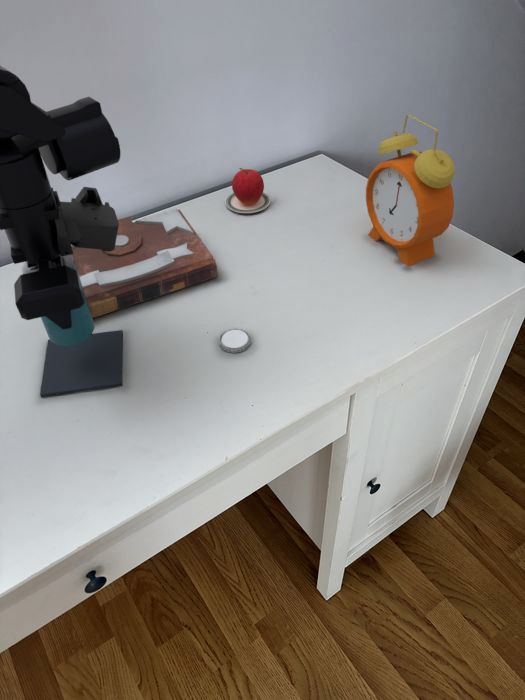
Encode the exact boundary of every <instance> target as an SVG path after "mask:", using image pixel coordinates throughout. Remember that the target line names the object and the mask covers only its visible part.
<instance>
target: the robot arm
mask: <svg viewBox="0 0 525 700" xmlns="http://www.w3.org/2000/svg"><path fill="white" fill-rule="evenodd" d="M120 160H121V144H120V141H119V138H118V137H117V136H116V134H115V132H114V130H113V128H112V125H111V124H110V122H109V120H108V118H107V117H106V115H105V114H104V113H103V110H102V106H101V103H100V101H97V100H96V99H94V98H92V97H91V96H86V97H83V98H80V99H78V100H76V101H75V102H73V103H70V104H67V105H64V106H61V107H58V108H53V109H51V110H48V111H47V110H45V109H43V108H41V107H40V106H38V105H36V104H35V103H33V102H32V100H31V93H30V92H29V90H28V88H27V86H26V84H25V83H24V82H23V80H21V79H20V78H19V77H18V76H17V74H15V73H13V72H12V71H11V70H8V69H7V68H6V67H3V66H2V65H0V231H2V230H4V232H5V235H6V238H7V240H8V242H9V245H10V257H11V260H12V262H13V264H14V265H17V264H21V263H25V262H26V261H27V267H28V270H35V269H37V268H38V266H39V271H36V272H31V273H27V274H23V273H22V274H20V275H19V276H18V278H16V280H15V282H14V283H13V284H14V285H13V286H14V300H15V301H14V302H15V306H16V308H17V311H18V313H19V315H20V318H21V319H23V320H25V321H30V320H36V319H39V318H40V319H41V317H44V316H45V317H47V318H48V319H49V320H51V321H52V322H53V323H55V324H56V325H57V326H59V327H60V328H61V329H68V328H71V327H72V319H71V310H74V309H78V308H80V307H82V306H83V305H84V304H85V302H84V297H83V293H82V288H81V284H80V280H79V277H78V274H77V271H76V270H74V269H72V268H70V267H68V266H66V265H64V266H63V264H62V258H61V256H66V255H71V254H73V249H72V246H71V245H73V246H75V247H79V248H89V249H101V250H102V251H107V252H109V251H113V250H114V249H115V244H116V238H117V232H118V226H119V222H118V220H119V219H118V216H117V213H116V210H115V209H114V207H113V206H110V203H109V202H108V201H105V202H104V204H103V201H102V199H101V196H100V194H99V190H98V189H97V188H96V187H90V186H83V187H82V188H81V190H80V191H79V192H78V194H77V195H76V196H75V198H74V197H71V200H70V201H60V197H59V194H58V191H57V190H54V188H53V187H52V186H51V182H50V180H49V176H48V174H47V170H46V168H47V169H48V171H49V172H50V173H51V174H53V175H58V174H60V175H61V177H62V178H63V179H65V180H66V181H72V180H75V179H78V178H80V177H83V176H86V175H88V174H91V173H93V172H96V171H99V170H101V169H104V168H106V167H110V166H113V165H115V164H118V163H119V162H120ZM45 166H46V167H45ZM51 260H52V266H53V268H51V263H50V261H51ZM37 264H38V265H37Z"/></svg>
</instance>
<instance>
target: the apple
mask: <svg viewBox="0 0 525 700" xmlns="http://www.w3.org/2000/svg"><path fill="white" fill-rule="evenodd" d="M231 189H232V193H230V194H229V195H227V197H226V198H225V201H224V202H225V206H226V207H227V209H229V210H230V211H232V212H235V213H238V214H255V213H258V212H261V211H263V210H265V209H267V208H268V207H269V206H270V203H271V197H270V196H269V195H268V194H267V193H265V192H264V190H265V183H264V179H263V176H262V175H261V173H259V172H258V171H257V170H254V169H250V168H249V169H248V168H244V169H243V168H242V167H240V168H239V171H237V172H236V173H235V175H234V177H233V178H232V181H231Z"/></svg>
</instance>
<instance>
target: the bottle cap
mask: <svg viewBox="0 0 525 700" xmlns="http://www.w3.org/2000/svg"><path fill="white" fill-rule="evenodd" d="M219 344H220V347H221V349H222V350H224V351H225V352H228V353H240V352H243V351H245V350H247V349H248V347H249V346H250V344H251V337H250V334H249V333H248V332H247V331H246V330H244V329H240V328H231V329H228V330H226V331H224V332H223V333H222V334H221V335H220V337H219Z"/></svg>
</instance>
